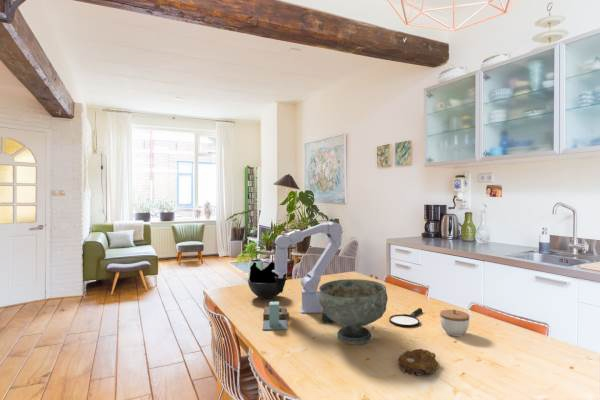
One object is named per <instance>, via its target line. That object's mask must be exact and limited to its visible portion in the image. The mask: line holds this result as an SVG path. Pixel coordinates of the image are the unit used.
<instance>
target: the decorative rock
mask: <svg viewBox="0 0 600 400" xmlns="http://www.w3.org/2000/svg"><path fill="white" fill-rule="evenodd" d="M436 357H437V356H436V353H434V352H431V351H430V350H427V349H422V348H416V349H414V350H406V351H405V352H402V354H401V355H400V356H398V359H397V362H398V363H397V364H398V366H399V368H401V370H403V371H404V374H405V375H409V374H411V376H414V374H415V373H416V374H417V376H419V375H423V374H424V373H425V374H428V375H430V374H433V373H435V371H436V369H438V367H439V366H440V365H439V362H438V361H437V359H436Z"/></svg>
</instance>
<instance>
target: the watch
mask: <svg viewBox="0 0 600 400" xmlns="http://www.w3.org/2000/svg"><path fill="white" fill-rule="evenodd" d="M321 313H322V314H321V321H322V322H325V323H326V324H331V323H335V322H334V321H333V320H331V319H330V318H328V316H327V315H326V314H325V313H324V312H321Z"/></svg>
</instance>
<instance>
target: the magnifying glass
mask: <svg viewBox="0 0 600 400" xmlns="http://www.w3.org/2000/svg"><path fill="white" fill-rule="evenodd" d="M422 312H423V309H422V308H421V307H418V308H417V309H415V310H413V311H412V312H411V313H410V314H405V313H403V314H394V315H391V316H389V319H388V320H389V321H388V323H390V324H391V325H393V326H395V327H401V328H416V327H418V326H420V319H419V318H418V317H417V316H418V315H420V314H421V313H422Z"/></svg>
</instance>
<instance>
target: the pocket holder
mask: <svg viewBox="0 0 600 400" xmlns="http://www.w3.org/2000/svg"><path fill="white" fill-rule="evenodd" d="M262 319H263V320H262V321H264V320H269V306H264V309H263V317H262ZM279 320H287V321H288V306H279Z"/></svg>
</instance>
